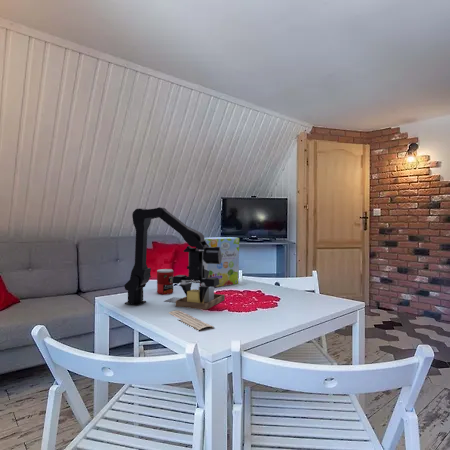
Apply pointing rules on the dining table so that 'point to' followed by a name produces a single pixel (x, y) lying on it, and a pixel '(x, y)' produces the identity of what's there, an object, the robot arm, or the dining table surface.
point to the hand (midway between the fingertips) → (195, 301)
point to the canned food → (164, 281)
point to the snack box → (224, 260)
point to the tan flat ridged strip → (189, 320)
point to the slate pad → (172, 300)
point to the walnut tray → (204, 306)
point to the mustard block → (194, 296)
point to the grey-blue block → (209, 294)
